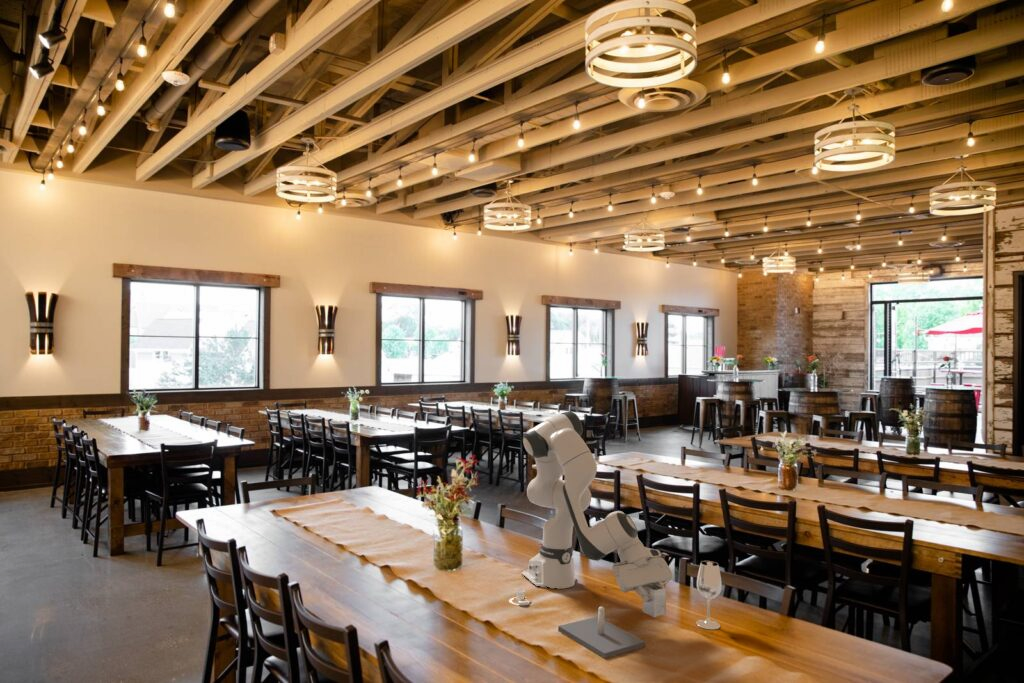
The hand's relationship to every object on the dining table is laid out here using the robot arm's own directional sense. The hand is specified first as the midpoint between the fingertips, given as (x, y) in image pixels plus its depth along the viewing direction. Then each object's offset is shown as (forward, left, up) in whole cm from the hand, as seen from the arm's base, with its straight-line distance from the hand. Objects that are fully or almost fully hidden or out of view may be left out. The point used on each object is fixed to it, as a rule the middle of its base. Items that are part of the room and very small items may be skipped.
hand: (655, 599), depth 209 cm
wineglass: (+3, +22, -11) cm, 24 cm away
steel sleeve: (-1, 0, -4) cm, 4 cm away
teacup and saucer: (-44, -24, -12) cm, 51 cm away
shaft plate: (-6, -17, -11) cm, 21 cm away
